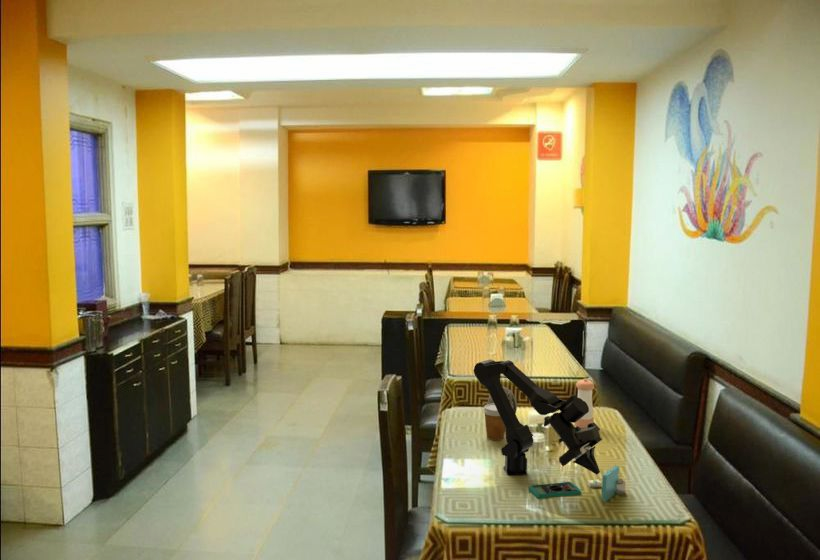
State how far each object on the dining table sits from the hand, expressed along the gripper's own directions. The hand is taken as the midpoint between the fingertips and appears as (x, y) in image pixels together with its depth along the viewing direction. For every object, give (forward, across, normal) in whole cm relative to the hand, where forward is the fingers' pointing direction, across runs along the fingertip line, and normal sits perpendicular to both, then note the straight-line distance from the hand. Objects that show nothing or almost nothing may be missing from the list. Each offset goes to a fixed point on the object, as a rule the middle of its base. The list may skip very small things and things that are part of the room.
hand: (598, 473), depth 199 cm
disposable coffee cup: (-31, +23, +42) cm, 57 cm away
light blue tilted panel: (+7, +2, +2) cm, 8 cm away
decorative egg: (-36, +38, +47) cm, 71 cm away
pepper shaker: (-17, +57, +28) cm, 66 cm away
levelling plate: (+7, +4, +4) cm, 9 cm away
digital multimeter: (-2, -6, +14) cm, 15 cm away
